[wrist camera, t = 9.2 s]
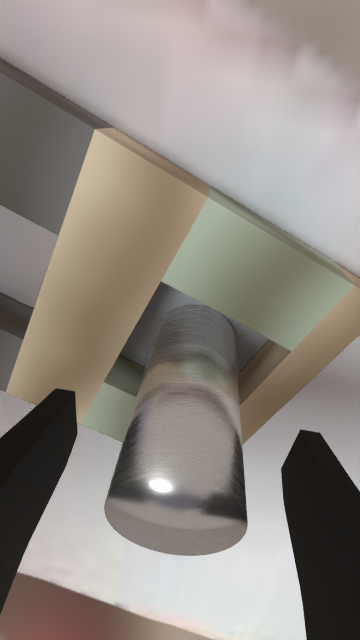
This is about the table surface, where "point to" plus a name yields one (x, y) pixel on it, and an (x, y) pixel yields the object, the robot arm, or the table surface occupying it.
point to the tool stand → (148, 266)
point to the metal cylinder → (183, 442)
